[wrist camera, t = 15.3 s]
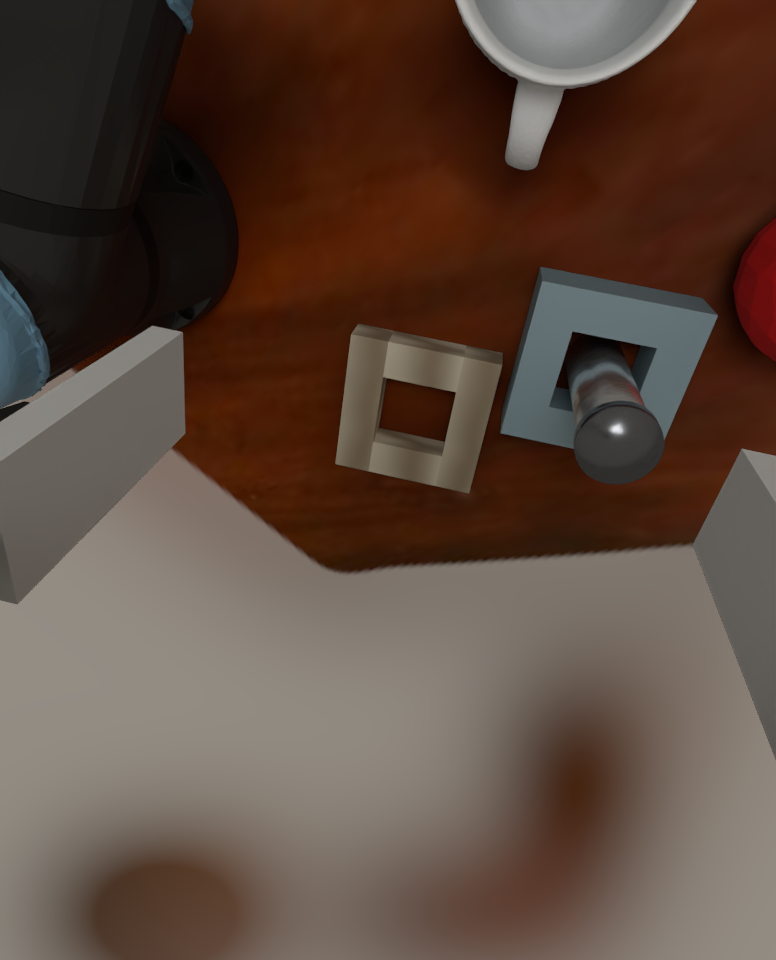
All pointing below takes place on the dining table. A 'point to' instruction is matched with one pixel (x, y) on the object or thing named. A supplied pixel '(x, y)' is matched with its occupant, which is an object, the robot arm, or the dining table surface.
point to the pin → (609, 414)
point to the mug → (562, 52)
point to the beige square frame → (420, 364)
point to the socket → (609, 314)
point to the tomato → (758, 290)
